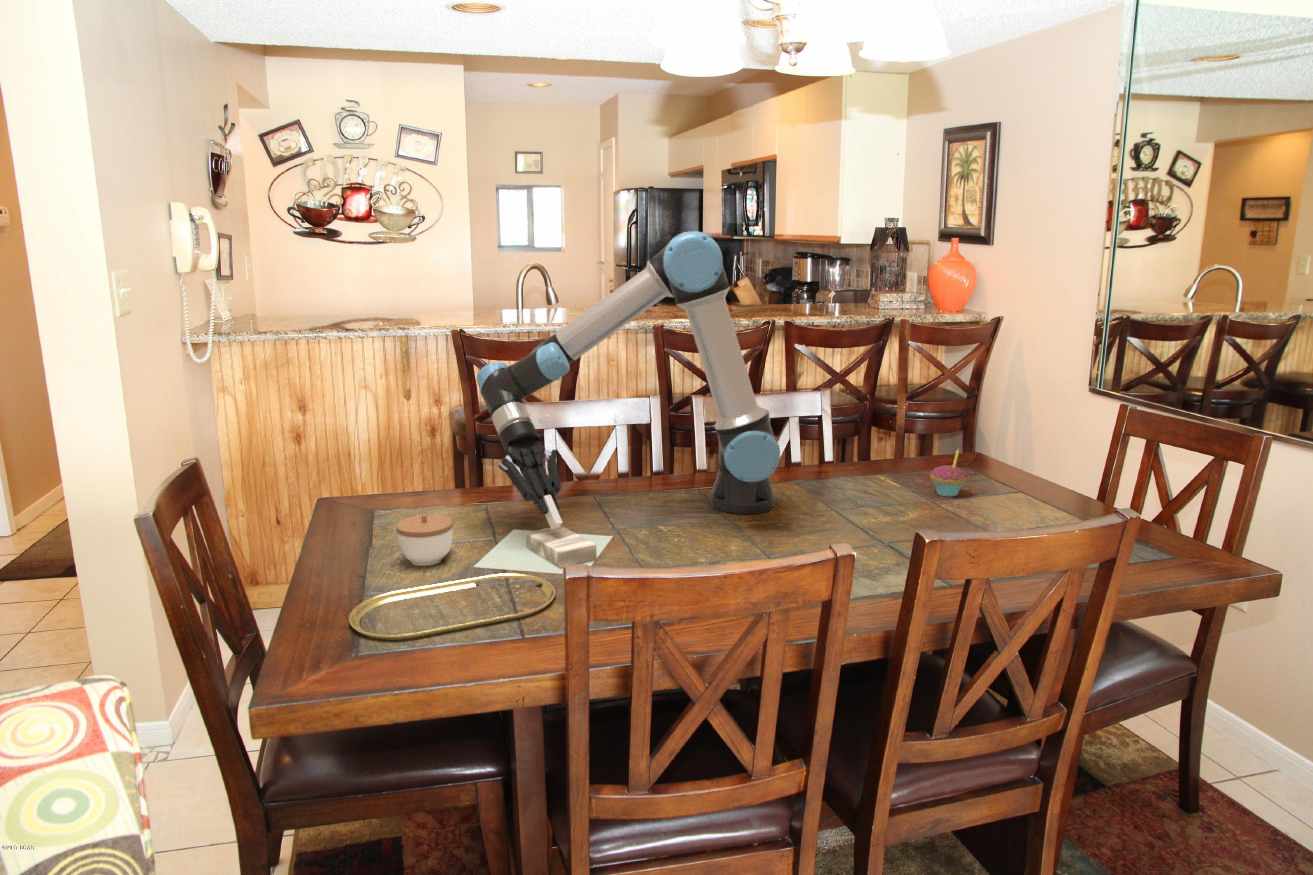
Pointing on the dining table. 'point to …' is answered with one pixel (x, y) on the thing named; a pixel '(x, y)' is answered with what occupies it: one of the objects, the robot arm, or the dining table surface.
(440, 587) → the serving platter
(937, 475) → the cupcake
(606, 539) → the mat
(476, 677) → the dining table surface
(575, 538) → the domino
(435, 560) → the lidded jar
